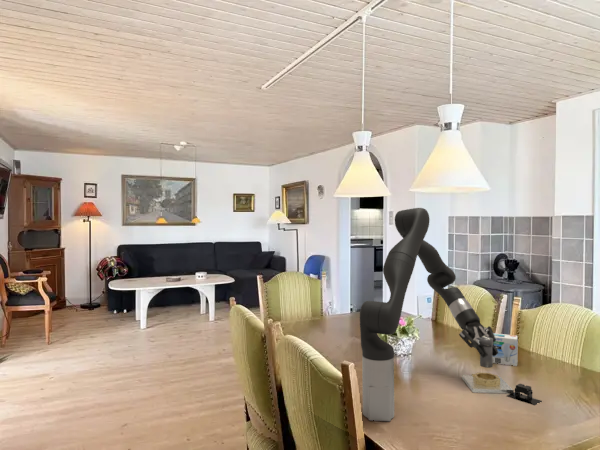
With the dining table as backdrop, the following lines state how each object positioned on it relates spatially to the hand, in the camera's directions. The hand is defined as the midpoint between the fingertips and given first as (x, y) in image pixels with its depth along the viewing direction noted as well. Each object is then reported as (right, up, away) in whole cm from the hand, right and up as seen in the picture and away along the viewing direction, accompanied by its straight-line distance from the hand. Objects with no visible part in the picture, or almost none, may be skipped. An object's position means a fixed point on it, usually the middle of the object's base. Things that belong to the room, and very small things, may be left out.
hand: (490, 355), depth 147 cm
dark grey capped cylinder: (-1, -4, +2) cm, 5 cm away
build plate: (+6, -12, -9) cm, 16 cm away
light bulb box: (+17, -11, +27) cm, 34 cm away
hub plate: (-1, -11, +2) cm, 11 cm away
